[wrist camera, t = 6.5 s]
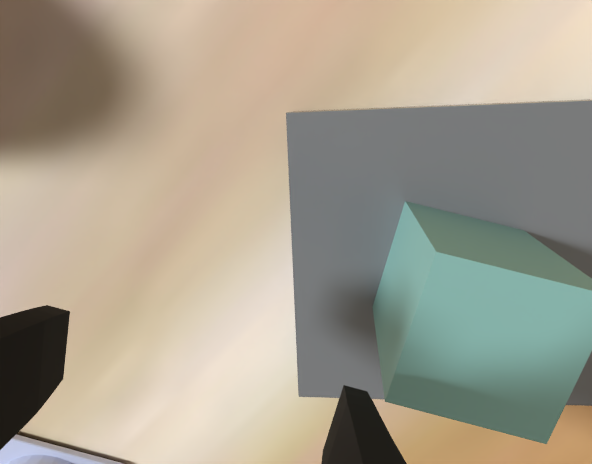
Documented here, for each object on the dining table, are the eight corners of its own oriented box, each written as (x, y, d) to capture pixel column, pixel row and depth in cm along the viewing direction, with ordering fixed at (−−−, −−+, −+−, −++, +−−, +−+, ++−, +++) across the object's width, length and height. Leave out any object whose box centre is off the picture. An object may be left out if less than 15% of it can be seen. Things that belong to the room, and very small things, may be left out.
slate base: (563, 370, 21) (591, 405, 18) (303, 364, 22) (298, 396, 20) (600, 99, 17) (641, 98, 15) (293, 111, 19) (286, 112, 16)
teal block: (482, 335, 18) (546, 444, 12) (372, 307, 18) (384, 401, 12) (523, 230, 17) (617, 297, 11) (405, 200, 17) (436, 251, 11)
